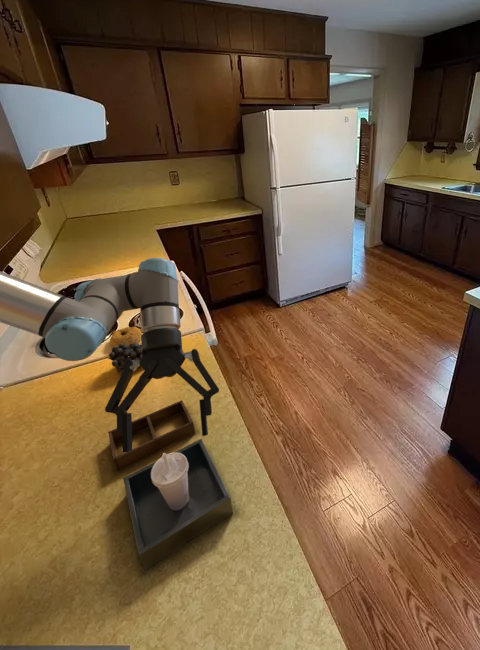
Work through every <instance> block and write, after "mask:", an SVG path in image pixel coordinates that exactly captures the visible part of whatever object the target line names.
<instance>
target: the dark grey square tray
mask: <svg viewBox="0 0 480 650" xmlns="http://www.w3.org/2000/svg"><path fill="white" fill-rule="evenodd" d="M173 453H181V454H183V455H184V456H185V457H186V459H187V461H188V466H189V468H188V472H187V476H188V493H189V500H188V502H187V504H186V505H185V506H184V507H183V508H182V509H180V510H172V509H171V508H170V507H169V505H168V504H167V502H166V500H165V499H164V497H163V495H162V494H161V492H160V490H159V489H158V487H157V486H155V485H154V484H153V483H152V479H151V470H152V467H153V466H154V464H155V463H156V462H157V461H158V460H155V461H154V462H152V463H150V464H147V465H146V466H144V467H142V468H140V469H137V470H136V471H134V472H132V473H130V474H128V475H125V476H124V477H123V478H122V481H123V485H124V490H125V494H126V499H127V504H128V509H129V514H130V518H131V524H132V529H133V533H134V538H135V543H136V547H137V552H138V556H139V560H140V561H141V563H142V566H143V568H144V570H145V571H146V570H148V569H150V568H151V567H152V566H154V565H156V564H157V563H159V562H160V561H162V560H164V559H165V558H166V557H168V556H170V555H171V554H173V553H174V552H176V551H177V550H179V549H180V548H182V547H184V546H186V545H187V544H188V543H189V542H191V541H193V540H194V539H196V538H197V537H198V536H200V535H202V534H203V533H205V532H206V531H208V530H209V529H211V528H213V527H214V526H216V525H217V524H218V523H220V522H222V521H223V520H224V519H226V518H228V517H229V516H231V515H232V514H234V510H233V503H232V499H231V496H230V494H229V492H228V490H227V488H226V485H225V483H224V481H223V480H222V477H221V475H220V474H219V472H218V470H217V467H216V465H215V463H214V461H213V459H212V457H211V455H210V453H209V451H208V449H207V447H206V445H205V442H204V441H203V439H202V438H199V439H197V440H196V441H194V442H192V443H190V444H187V445H186V446H183V447H182V448H180V449H178V450H176V451H174V452H173Z"/></svg>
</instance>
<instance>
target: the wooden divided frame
mask: <svg viewBox="0 0 480 650" xmlns="http://www.w3.org/2000/svg"><path fill="white" fill-rule="evenodd" d="M180 414H183V415H184V418H185V420H186V423H185V424H183V425H181V426H179V427H177V428H175V429H172V430H170V431H168V432H166V433H164V434H162V435H159V436H158V437H157V435H156V433H155V429H154V426H156V425H158V424H160V423H163V422H165V421H167V420H169V419H171V418H174V417H176V416H178V415H180ZM147 429H149V431H150V433H151V436H152V439H151V440H149V441H147V442H145V443H142V444H140V445H139V446H136V447H133V448H132V450H131V451H128V452H124V453H123V452H122V453H121V454H118V450H117V449H118V448H117V443H118V442H120V441H123V432H122V433H118V432H117V427H116V428H114V429H111V430H109V431H107V433H108V439H109V445H110V449H111V453H112V454H111V455H112V459H113V462H114V466H115V467H116V468H115V469H116V470H117V471H121V470H123V469H125V468H127V467H129V466H131V465H133V464H135V463H137V462H139V461H141V460H143V459H145V458H146V459H147V458H148V457H150V456H152V455H154V454H156V453H158V452H160V451H163V450H164V449H166V448H168V447H170V446H172V445H174V444H177V443H179V442H180V441H182V440H184V439H186V438H188V437H191V436H192V435H194V434H196V429H195V424H194V421H193V419H192V418H191V415H190V413H189V411H188V408H187V407H186V404H185V403H184V401H183V399H181V400H179V401H177V402H174V403H172V404H170V405H168V406H165V407H163V408H160V409H158V410H156V411H152V412H151V413H148V414H146V415H144V416H142V417H139V418H137V419H135V420H132V436H134V435H136V434H138V433H141V432H143V431H146V430H147Z"/></svg>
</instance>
